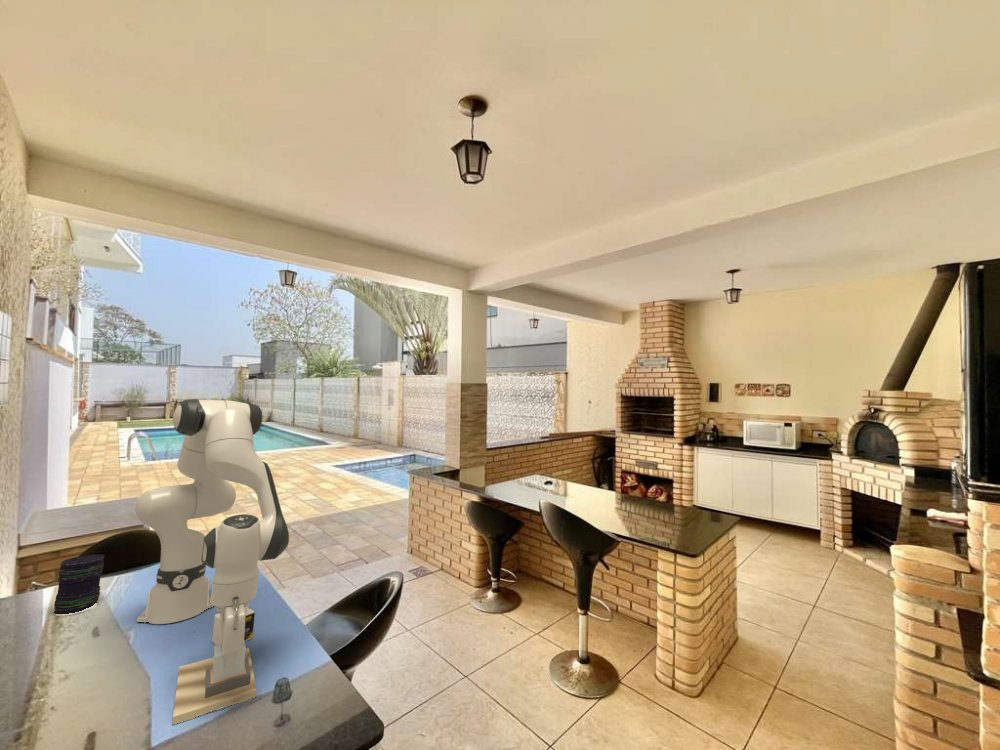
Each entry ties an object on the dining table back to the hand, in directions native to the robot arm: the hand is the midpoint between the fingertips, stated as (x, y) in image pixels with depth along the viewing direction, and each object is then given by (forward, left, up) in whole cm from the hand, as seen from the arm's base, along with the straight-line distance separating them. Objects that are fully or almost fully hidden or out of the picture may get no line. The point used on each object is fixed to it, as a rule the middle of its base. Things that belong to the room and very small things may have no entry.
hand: (228, 655), depth 89 cm
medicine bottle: (-23, +2, -7) cm, 24 cm away
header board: (-3, -2, -7) cm, 7 cm away
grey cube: (0, 0, -3) cm, 3 cm away
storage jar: (-73, -37, -7) cm, 82 cm away
